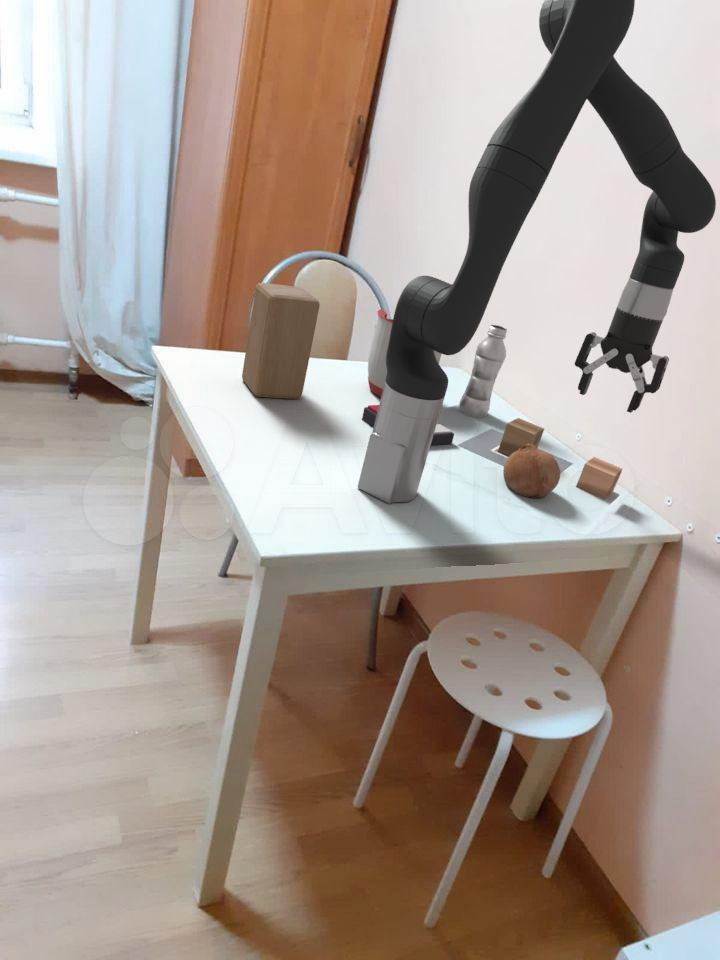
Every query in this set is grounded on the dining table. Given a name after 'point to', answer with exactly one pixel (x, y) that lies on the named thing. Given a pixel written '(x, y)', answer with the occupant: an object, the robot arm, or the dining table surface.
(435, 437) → the calculator
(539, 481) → the onion
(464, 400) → the plastic bottle
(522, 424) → the walnut block
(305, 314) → the wooden block
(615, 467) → the terracotta block
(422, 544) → the dining table surface
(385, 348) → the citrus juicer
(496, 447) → the grey flat plate
